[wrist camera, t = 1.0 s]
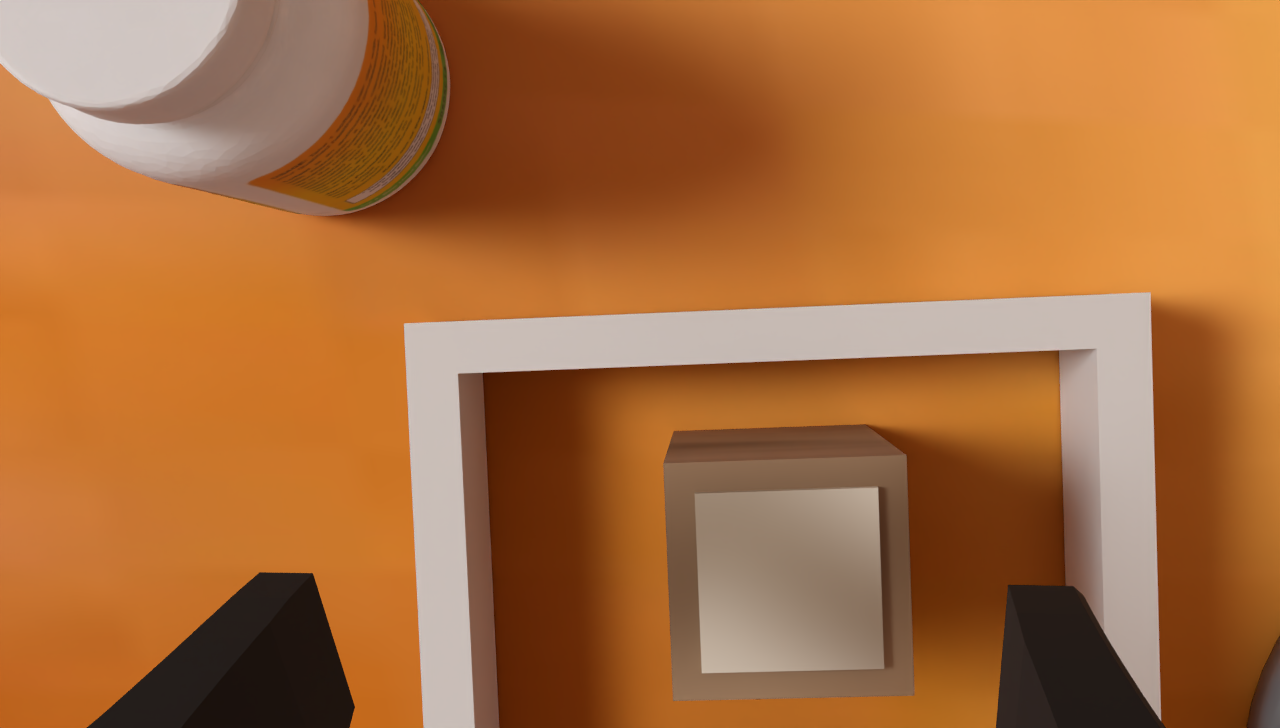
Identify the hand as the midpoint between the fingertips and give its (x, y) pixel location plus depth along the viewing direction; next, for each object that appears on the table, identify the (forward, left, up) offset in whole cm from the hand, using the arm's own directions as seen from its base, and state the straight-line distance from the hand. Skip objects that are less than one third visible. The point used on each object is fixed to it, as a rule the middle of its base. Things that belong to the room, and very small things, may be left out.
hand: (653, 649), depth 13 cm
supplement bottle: (+9, +7, -13) cm, 17 cm away
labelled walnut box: (-1, -2, -13) cm, 13 cm away
